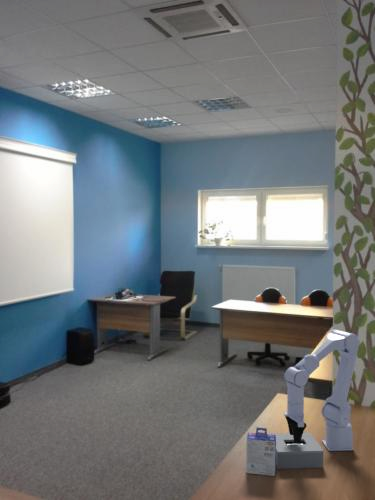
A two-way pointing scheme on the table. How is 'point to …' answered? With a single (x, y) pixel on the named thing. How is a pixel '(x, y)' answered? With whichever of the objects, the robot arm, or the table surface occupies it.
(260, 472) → the ink cartridge box
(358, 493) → the table surface
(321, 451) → the ballot box
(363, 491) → the table surface
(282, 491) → the table surface
